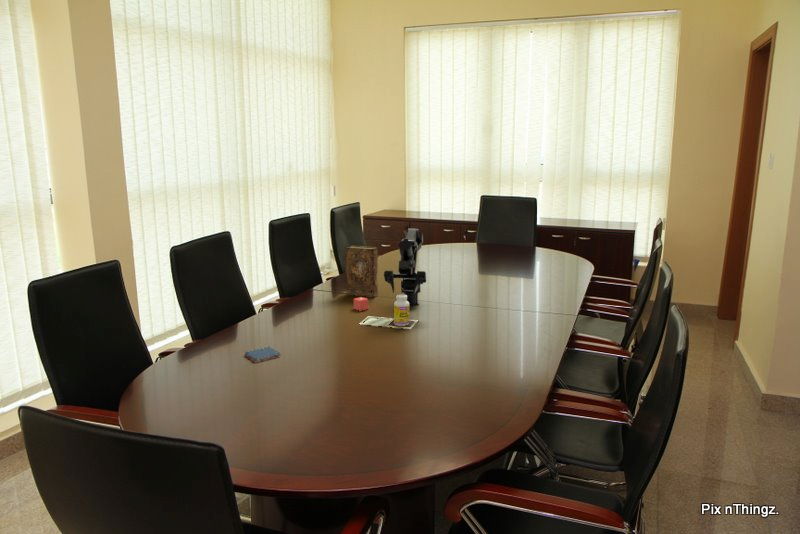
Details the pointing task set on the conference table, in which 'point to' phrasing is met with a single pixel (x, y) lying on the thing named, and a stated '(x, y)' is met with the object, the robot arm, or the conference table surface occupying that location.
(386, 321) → the silver picture frame
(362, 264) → the book
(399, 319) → the supplement bottle
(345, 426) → the conference table surface
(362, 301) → the red die
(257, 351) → the woven mat
